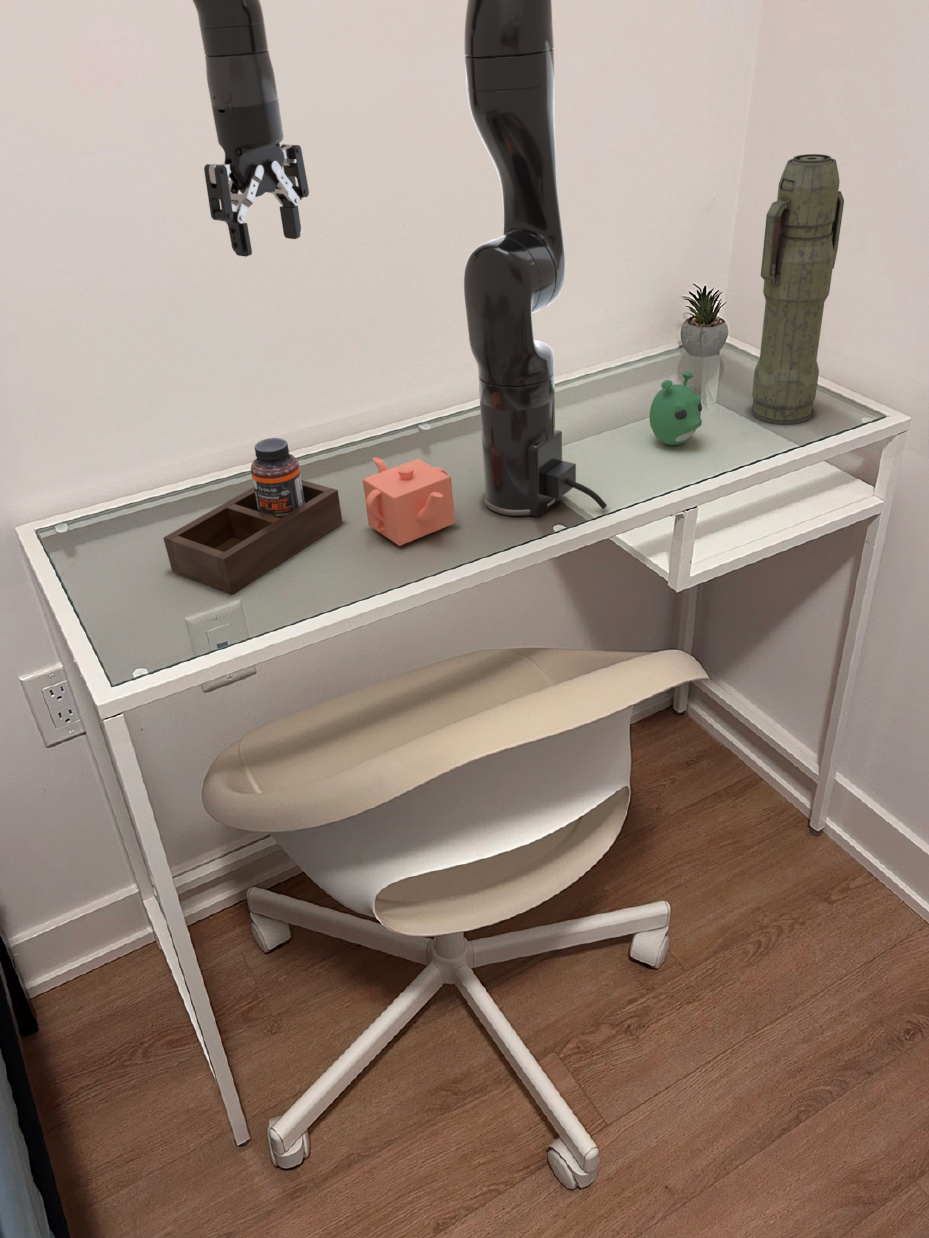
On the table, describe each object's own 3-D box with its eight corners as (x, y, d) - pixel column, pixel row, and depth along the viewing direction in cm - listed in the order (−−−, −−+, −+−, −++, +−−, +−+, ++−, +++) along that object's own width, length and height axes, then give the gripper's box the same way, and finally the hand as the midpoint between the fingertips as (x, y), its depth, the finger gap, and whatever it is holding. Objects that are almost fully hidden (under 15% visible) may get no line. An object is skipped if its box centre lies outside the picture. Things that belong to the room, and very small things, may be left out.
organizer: (342, 523, 129) (337, 489, 127) (231, 595, 116) (223, 559, 114) (284, 505, 135) (278, 472, 132) (172, 572, 122) (162, 537, 119)
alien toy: (679, 459, 138) (683, 390, 133) (638, 443, 144) (640, 376, 138) (712, 444, 142) (718, 376, 136) (671, 429, 147) (675, 362, 141)
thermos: (730, 414, 150) (753, 161, 130) (786, 394, 155) (815, 147, 135) (776, 432, 144) (807, 169, 124) (832, 411, 149) (870, 154, 129)
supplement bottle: (259, 539, 125) (242, 456, 119) (264, 517, 130) (248, 436, 124) (307, 535, 126) (292, 452, 119) (310, 513, 130) (296, 432, 124)
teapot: (405, 567, 119) (398, 505, 114) (341, 523, 129) (332, 463, 125) (485, 534, 125) (481, 472, 120) (417, 494, 135) (411, 436, 130)
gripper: (264, 89, 120) (286, 230, 130) (174, 107, 111) (204, 258, 120) (311, 90, 117) (330, 235, 126) (222, 109, 107) (249, 264, 116)
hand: (268, 246), depth 123 cm, fingers open, 8 cm apart
